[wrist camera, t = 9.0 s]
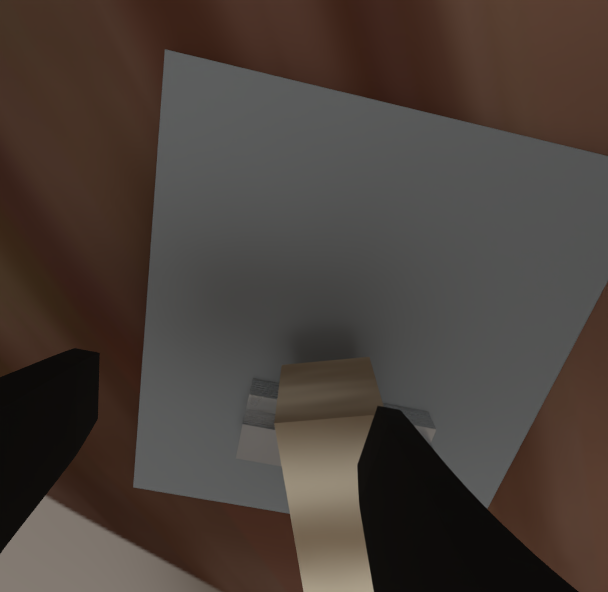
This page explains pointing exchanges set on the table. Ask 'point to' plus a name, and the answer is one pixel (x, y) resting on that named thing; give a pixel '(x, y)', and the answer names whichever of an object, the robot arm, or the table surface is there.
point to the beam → (326, 467)
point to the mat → (354, 270)
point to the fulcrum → (261, 430)
